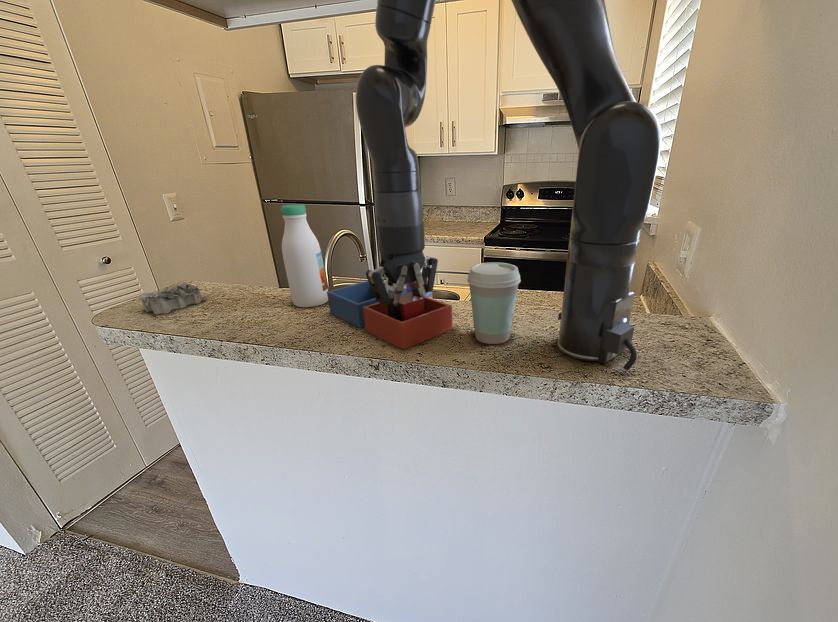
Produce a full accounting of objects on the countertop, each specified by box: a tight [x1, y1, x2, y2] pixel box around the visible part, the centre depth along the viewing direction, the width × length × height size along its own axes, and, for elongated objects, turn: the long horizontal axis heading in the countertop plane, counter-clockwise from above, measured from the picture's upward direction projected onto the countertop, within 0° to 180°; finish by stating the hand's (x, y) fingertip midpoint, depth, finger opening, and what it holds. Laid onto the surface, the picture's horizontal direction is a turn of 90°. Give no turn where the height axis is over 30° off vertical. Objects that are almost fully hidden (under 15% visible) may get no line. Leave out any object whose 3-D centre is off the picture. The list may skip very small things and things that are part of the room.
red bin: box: [363, 292, 453, 350], centre depth 72 cm, size 11×11×5 cm
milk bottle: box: [280, 203, 329, 308], centre depth 84 cm, size 8×8×20 cm
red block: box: [399, 292, 424, 322], centre depth 71 cm, size 4×4×4 cm
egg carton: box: [138, 281, 203, 315], centre depth 88 cm, size 11×8×4 cm
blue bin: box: [327, 280, 407, 329], centre depth 81 cm, size 11×11×5 cm
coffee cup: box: [466, 261, 522, 345], centre depth 67 cm, size 8×8×12 cm
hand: (407, 320), depth 72 cm, fingers closed on red block, 4 cm apart
